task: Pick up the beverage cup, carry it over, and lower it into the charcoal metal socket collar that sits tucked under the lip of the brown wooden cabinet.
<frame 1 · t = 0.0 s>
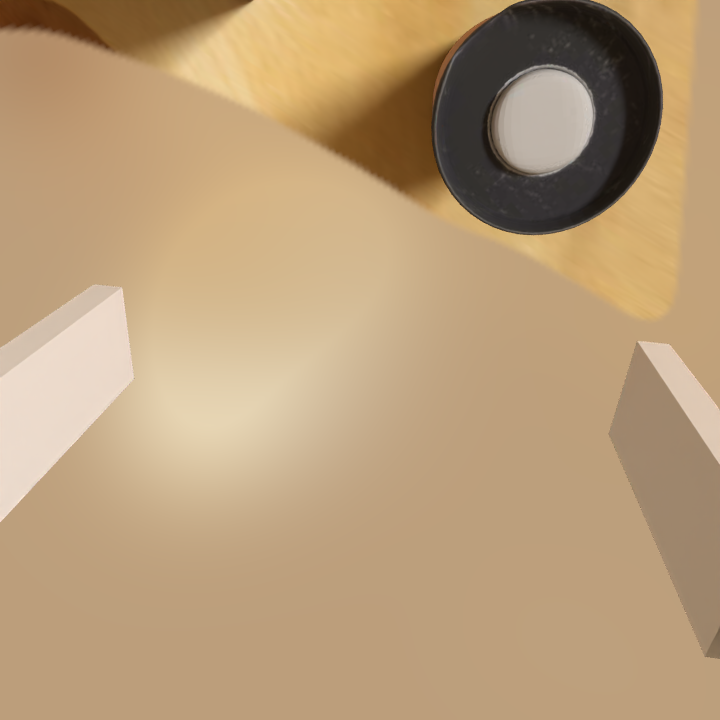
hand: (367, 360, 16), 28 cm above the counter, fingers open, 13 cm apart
travel mug: (496, 89, 38), on the counter
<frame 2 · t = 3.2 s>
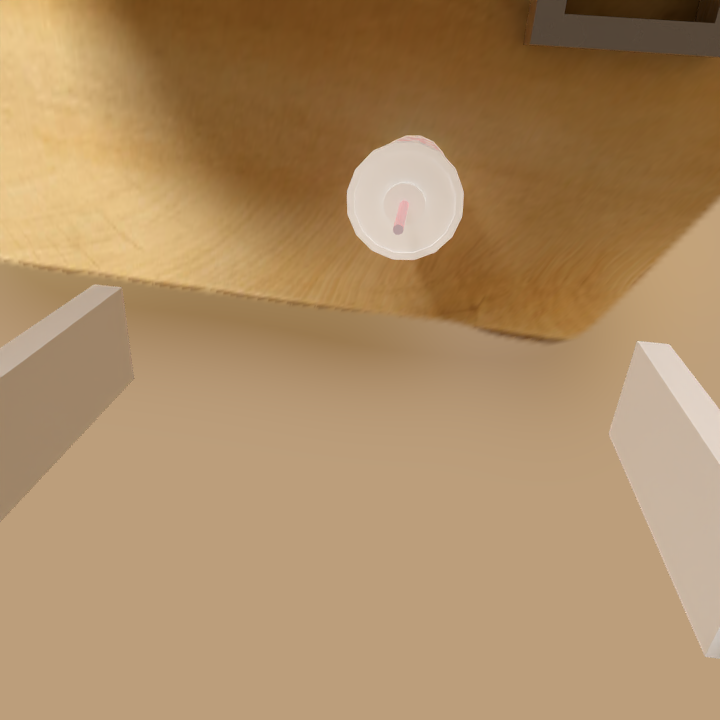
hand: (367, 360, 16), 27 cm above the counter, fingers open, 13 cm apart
beverage cup: (412, 171, 39), on the counter
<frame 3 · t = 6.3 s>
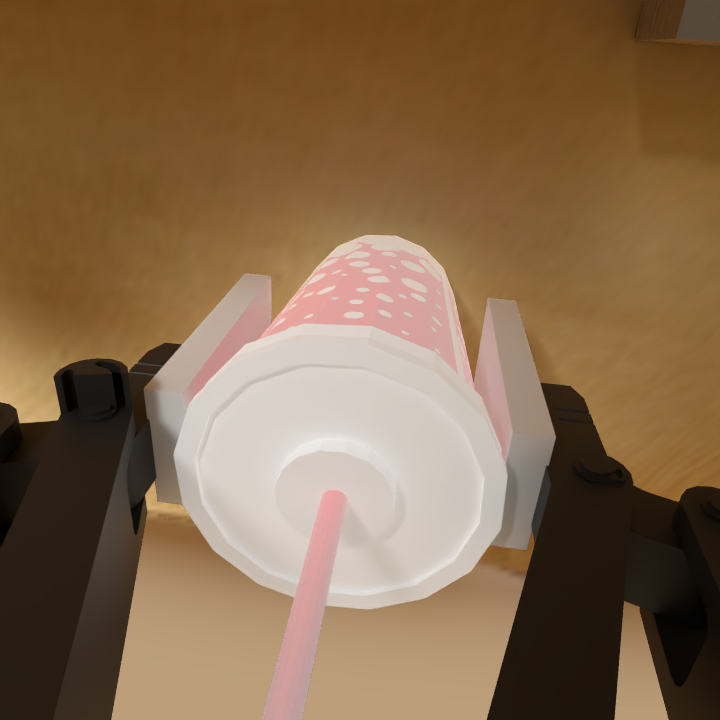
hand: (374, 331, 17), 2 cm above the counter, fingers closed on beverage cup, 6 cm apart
beverage cup: (380, 303, 19), on the counter, touching gripper
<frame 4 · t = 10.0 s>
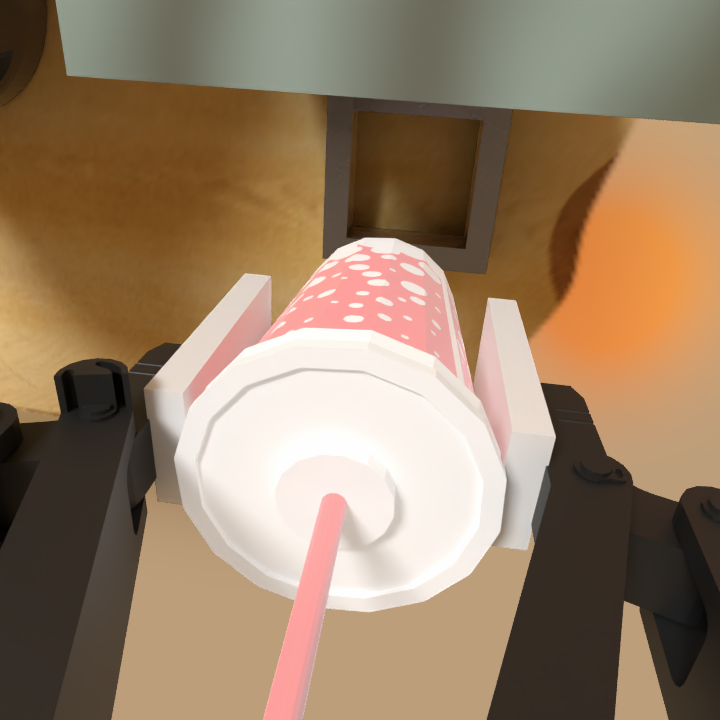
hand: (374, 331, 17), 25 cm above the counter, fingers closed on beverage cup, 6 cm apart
socket collar: (413, 173, 39), on the counter
beverage cup: (380, 305, 19), point 23 cm above the counter, touching gripper
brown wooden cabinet: (422, 4, 25), on the counter
when the fingers open (4 cm above the counter, at t = 13.5 s): beverage cup drops 2 cm, resting in socket collar.
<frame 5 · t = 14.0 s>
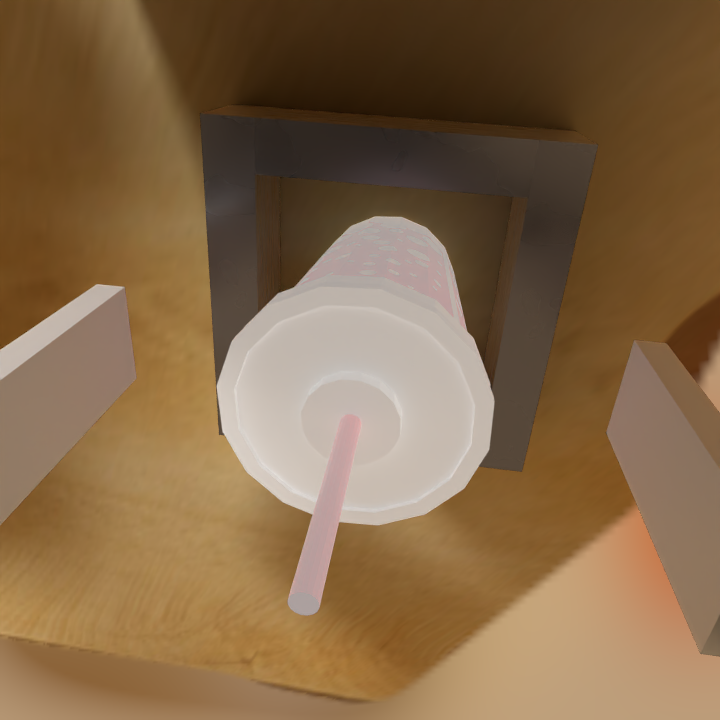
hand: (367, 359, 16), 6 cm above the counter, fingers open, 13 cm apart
socket collar: (386, 279, 21), on the counter
beverage cup: (388, 279, 21), resting in socket collar
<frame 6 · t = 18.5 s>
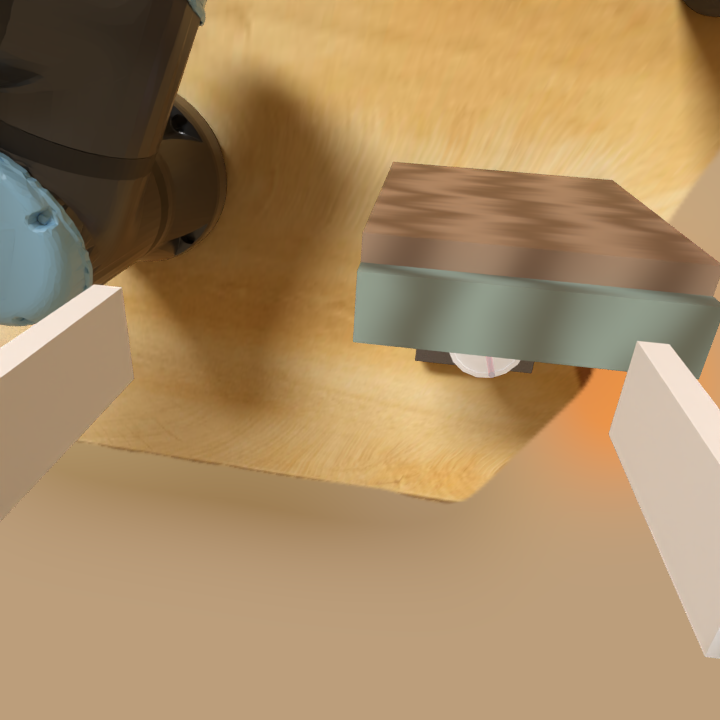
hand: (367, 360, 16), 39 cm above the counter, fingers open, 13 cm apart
socket collar: (479, 301, 55), on the counter
beverage cup: (480, 300, 55), resting in socket collar
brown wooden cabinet: (509, 244, 41), on the counter
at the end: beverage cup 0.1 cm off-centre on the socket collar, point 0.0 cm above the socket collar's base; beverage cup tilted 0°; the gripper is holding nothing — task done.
